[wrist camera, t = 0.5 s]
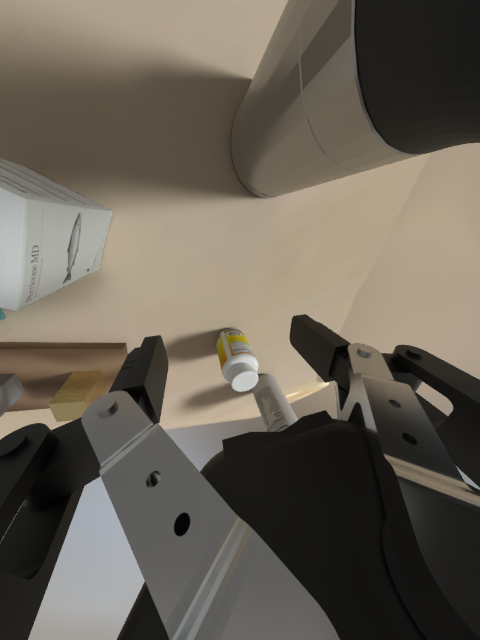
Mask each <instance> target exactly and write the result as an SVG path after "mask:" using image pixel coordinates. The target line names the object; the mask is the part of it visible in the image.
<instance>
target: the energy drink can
mask: <svg viewBox="0 0 480 640" xmlns="http://www.w3.org/2000/svg"><path fill="white" fill-rule="evenodd" d="M252 392H253V394H254V397H255V400H256V402H257V405H258V408H259V410H260V413H261V416H262V418H263V421H264V423H265V426H266V428H267V432H280V431H283V430H284V429H286V428H287V427H289V426H290V425H292V424H293V423H295V422H296V421H297V420H298V419H297V418H296V416H295V414H294V412H293V410H292V408H291V407H290V405H289V403H288V401H287V399H286V397H285V396H284V394H283V392H282V390H281V388H280V387H279V385H278V383H277V381H276V379H275V378H274V377H273V376H270V375H269V374H262V375H260V376H258V382H257V384H256V385H255V386H254V387H253V388H252Z"/></svg>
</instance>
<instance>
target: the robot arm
mask: <svg viewBox="0 0 480 640" xmlns="http://www.w3.org/2000/svg"><path fill="white" fill-rule="evenodd" d="M467 143H480V0H288V2H287V4H286V6H285V9H284V11H283V13H282V15H281V18H280V20H279V22H278V24H277V26H276V29H275V31H274V33H273V35H272V38H271V40H270V42H269V44H268V46H267V49H266V51H265V53H264V55H263V58H262V60H261V62H260V64H259V66H258V69H257V71H256V73H255V75H254V78H253V80H252V82H251V84H250V86H249V88H248V90H247V93H246V95H245V97H244V99H243V102H242V104H241V106H240V108H239V111H238V113H237V115H236V118H235V121H234V124H233V128H232V135H231V154H232V160H233V165H234V168H235V171H236V173H237V175H238V177H239V179H240V181H241V182H242V184H243V185H244V186H245V187H246V189H247V190H249V191H250V192H251V193H253V194H254V195H257V196H259V197H263V198H272V197H277V196H281V195H283V194H287V193H291V192H294V191H298V190H301V189H305V188H308V187H312V186H315V185H319V184H322V183H326V182H329V181H332V180H336V179H339V178H343V177H346V176H350V175H353V174H357V173H360V172H364V171H367V170H371V169H374V168H377V167H381V166H384V165H388V164H391V163H395V162H398V161H402V160H405V159H409V158H412V157H416V156H419V155H422V154H426V153H430V152H434V151H437V150H441V149H444V148H448V147H452V146H456V145H461V144H467ZM290 342H291V345H292V346H293V347H294V348H295V349H296V350H297V352H298V353H299V354H300V355H301V356H302V357H303V358H304V359H305V360H306V362H307V363H308V364H309V365H310V366H311V367H312V368H313V369H314V370H315V372H316V373H317V374H318V375H319V376H320V377H321V378H322V379H323V380H324V382H325V383H326V382H330V381H333V380H335V381H336V385H335V394H336V405H337V419H332V418H331V417H330V415H329V414H328V413H327V411H326V410H325V411H322V412H318V413H314V414H311V415H307V416H304V417H302V418H300V419H299V420H297V421H296V422H295V423H293V424H292V425H290V426H289V427H287V428H286V429H284V430H283V431H280V432H249V433H245V434H242V435H238V436H235V437H231V438H228V439H224V440H222V442H223V450H222V451H221V452H219V453H218V454H216V455H215V456H214V457H213V458H212V459H211V460H210V461H209V462H208V463H207V464H206V465H205V466H204V467H203V469H202V470H201V471H200V472H199V471H198V469H197V468H196V467H195V466H194V465H193V464H192V463H191V461H190V460H189V459H188V458H187V457H186V455H185V454H184V453H183V452H182V451H181V450H180V448H179V447H178V446H177V445H176V444H175V443H174V441H173V440H172V439H171V438H170V437H169V435H168V434H167V433H166V432H165V431H164V430H163V428H162V427H161V426H160V425H159V424H158V423H159V422H160V416H161V410H162V403H163V397H164V391H165V385H166V379H167V373H168V358H167V354H166V351H165V347H164V344H163V340H162V337H161V336H160V335H158V336H151V337H145V338H144V340H143V343H142V345H141V347H139V348H135V349H134V350H132V351H131V352H130V353H129V354H128V355H127V357H126V359H125V361H124V364H123V365H122V367H121V370H120V371H119V373H118V375H117V377H116V378H115V380H114V382H113V384H112V386H111V388H110V390H109V392H108V394H105V395H103V396H101V397H100V398H98V399H97V400H95V401H94V402H93V403H92V404H90V405H89V406H88V408H87V409H86V410H85V411H84V413H83V415H82V417H80V418H78V419H76V420H74V421H72V422H69V423H67V424H65V425H62V426H60V427H58V428H56V429H53V430H50V429H49V428H48V427H47V426H46V425H45V424H42V423H36V424H31V425H28V426H25V427H22V428H20V429H18V430H16V431H14V432H12V433H10V434H8V435H7V436H5V437H4V438H2V439H1V440H0V542H1V543H0V640H28V638H29V635H30V632H31V629H32V627H33V624H34V621H35V618H36V616H37V613H38V611H39V608H40V605H41V602H42V600H43V597H44V594H45V591H46V589H47V586H48V583H49V580H50V578H51V575H52V572H53V570H54V567H55V564H56V562H57V559H58V556H59V553H60V551H61V548H62V545H63V543H64V540H65V537H66V534H67V532H68V529H69V526H70V524H71V521H72V518H73V515H74V513H75V510H76V507H77V505H78V502H79V499H80V496H81V494H82V491H83V488H84V486H85V485H86V484H88V483H90V482H91V481H93V480H95V479H96V478H98V477H100V476H101V478H102V480H103V483H104V485H105V487H106V490H107V492H108V495H109V497H110V500H111V502H112V504H113V507H114V509H115V511H116V514H117V516H118V518H119V520H120V523H121V525H122V528H123V530H124V532H125V535H126V537H127V539H128V542H129V544H130V547H131V549H132V551H133V554H134V556H135V558H136V560H137V563H138V565H139V568H140V570H141V572H142V575H143V577H144V579H145V582H144V584H143V587H142V589H141V591H140V593H139V595H138V597H137V599H136V601H135V603H134V605H133V607H132V609H131V611H130V613H129V615H128V617H127V619H126V622H125V624H124V626H123V628H122V630H121V632H120V634H119V636H118V638H117V640H480V490H479V489H477V488H475V487H473V486H471V485H469V484H467V483H466V482H465V481H464V480H463V478H462V476H461V474H460V473H459V471H458V470H457V467H458V468H459V469H460V470H461V471H462V472H463V473H464V474H466V475H467V476H468V477H469V478H470V479H471V480H472V481H473V482H474V483H475V484H476V485H477V486H479V487H480V380H479V379H477V378H475V377H473V376H471V375H470V374H468V373H466V372H464V371H462V370H460V369H458V368H456V367H454V366H453V365H451V364H449V363H447V362H445V361H443V360H441V359H439V358H437V357H436V356H434V355H432V354H430V353H428V352H426V351H424V350H422V349H419V348H417V347H413V346H409V345H398V346H396V347H395V350H394V351H393V354H387V353H380V352H379V351H378V350H376V349H375V348H373V347H370V346H368V345H365V344H360V343H355V344H350V343H349V342H348V341H346V340H345V339H343V338H342V337H340V336H339V335H337V334H336V333H335V332H334V333H333V331H332V330H330V329H328V328H327V327H326V326H324V325H323V324H321V323H319V322H316V321H314V320H313V319H312V318H310V317H309V316H307V315H305V314H304V315H297V316H293V318H292V322H291V330H290ZM422 381H423V382H425V383H426V384H428V385H429V386H430V387H432V388H433V389H435V390H436V391H438V392H439V393H441V394H442V395H444V396H445V397H447V398H448V399H449V400H450V401H451V403H452V404H453V411H452V413H451V414H450V415H449V416H446V415H445V414H444V413H443V412H441V411H440V410H439V409H437V408H436V407H435V406H433V405H432V404H431V403H429V402H428V401H426V400H425V399H424V398H423V397H421V396H420V395H419V394H417V393H416V390H417V389H418V387H419V386H420V384H421V383H422ZM455 465H456V466H457V467H456V466H455ZM21 505H22V506H21ZM20 507H21V508H20ZM19 508H20V509H19ZM18 510H19V511H18ZM17 512H18V513H17ZM16 514H17V515H16ZM15 515H16V516H15ZM14 517H15V518H14ZM13 519H14V520H13ZM12 521H13V522H12ZM11 522H12V523H11ZM10 524H11V525H10ZM9 526H10V527H9ZM8 527H9V529H8ZM7 529H8V530H7ZM6 531H7V532H6ZM5 533H6V534H5ZM4 535H5V536H4ZM3 536H4V538H3ZM2 538H3V539H2ZM1 540H2V541H1Z"/></svg>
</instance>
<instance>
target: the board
mask: <svg viewBox="0 0 480 640" xmlns="http://www.w3.org/2000/svg"><path fill="white" fill-rule="evenodd" d="M127 355H128V354H127V346H126V343H29V342H0V417H1V416H2V415H3V414H4V413H5V412H11V411H23V410H34V409H46V408H50V407H49V403H50V402H51V400H52V399H53V398H54V396H55V395H56V394H57V392H58V391H59V390H60V389H61V387H62V386H63V385H64V383H65V382H66V381H67V379H68V378H69V377H70V375H71V374H72V373H73V372H74V371H100V370H102V371H103V376H104V380H105V384H106V387H105V389H104V391H103V393H102V395H101V396H103V395H105V394H108V392H109V390H110V388H111V386H112V384H113V382H114V380H115V378H116V377H117V375H118V373H119V371H120V370H121V367H122V365H123V364H124V361H125V359H126V357H127Z"/></svg>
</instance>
